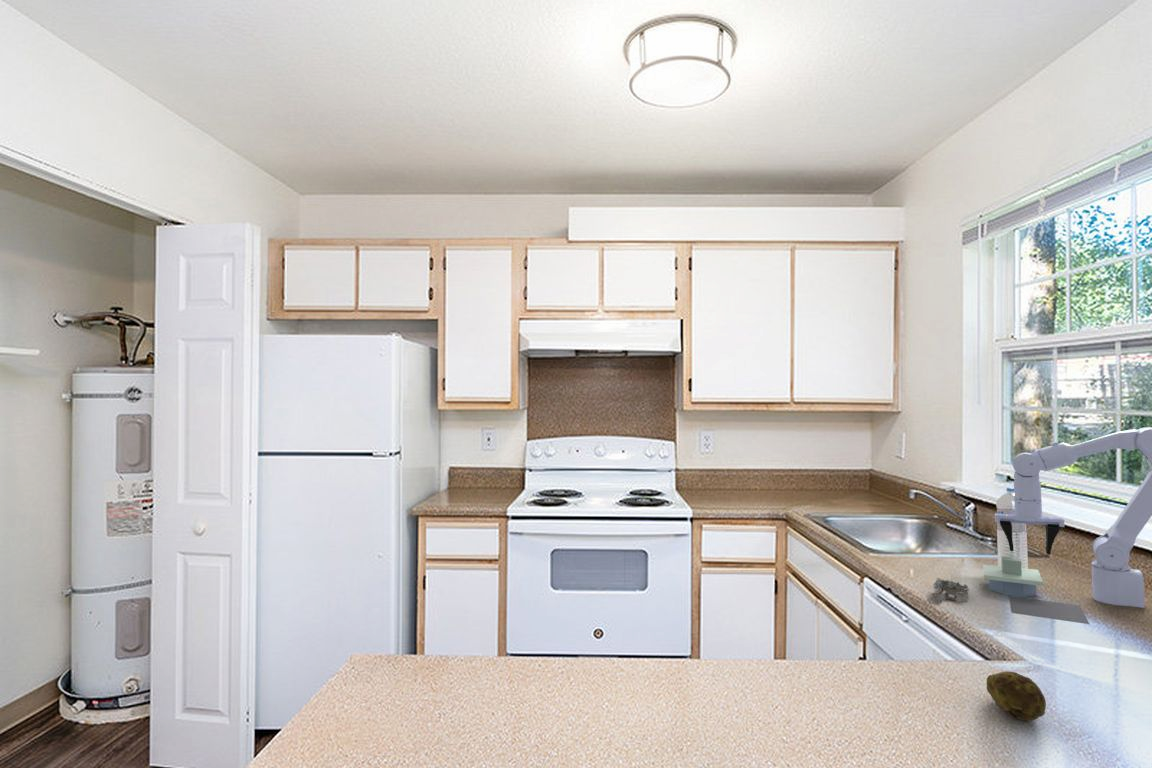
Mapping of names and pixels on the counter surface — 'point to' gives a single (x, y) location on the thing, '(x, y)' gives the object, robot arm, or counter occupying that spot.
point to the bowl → (1012, 588)
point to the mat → (1047, 609)
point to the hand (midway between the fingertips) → (1029, 552)
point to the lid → (1012, 572)
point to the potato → (1016, 695)
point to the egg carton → (950, 590)
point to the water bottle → (1018, 532)
